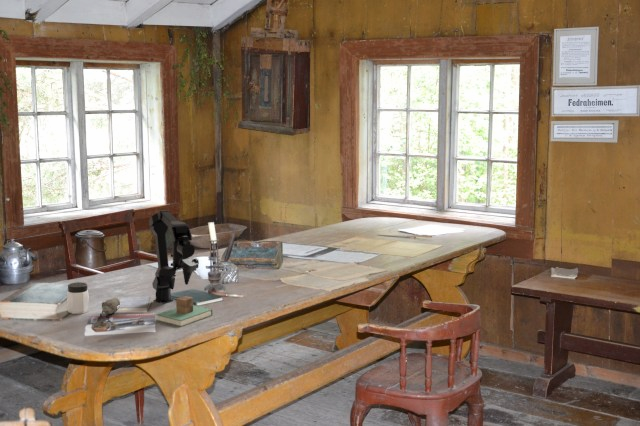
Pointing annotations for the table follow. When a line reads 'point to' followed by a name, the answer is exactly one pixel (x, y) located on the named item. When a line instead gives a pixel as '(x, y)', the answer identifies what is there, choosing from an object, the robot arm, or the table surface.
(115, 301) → the decorative bird
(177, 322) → the green book
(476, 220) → the table surface
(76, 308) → the jar
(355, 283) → the table surface
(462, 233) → the table surface
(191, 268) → the robot arm
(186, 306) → the walnut block
